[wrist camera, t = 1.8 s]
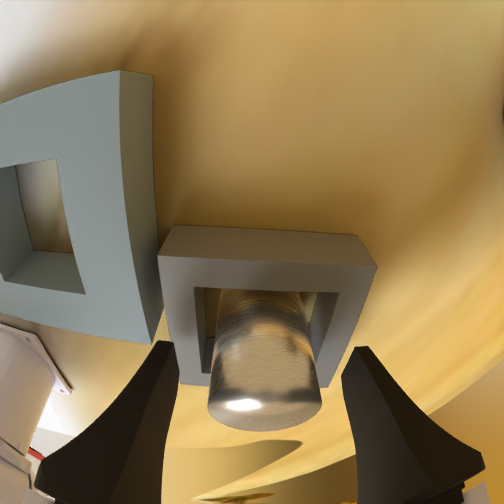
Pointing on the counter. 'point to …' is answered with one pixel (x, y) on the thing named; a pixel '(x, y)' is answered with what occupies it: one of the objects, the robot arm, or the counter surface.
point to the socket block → (85, 208)
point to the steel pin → (262, 362)
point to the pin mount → (262, 286)
